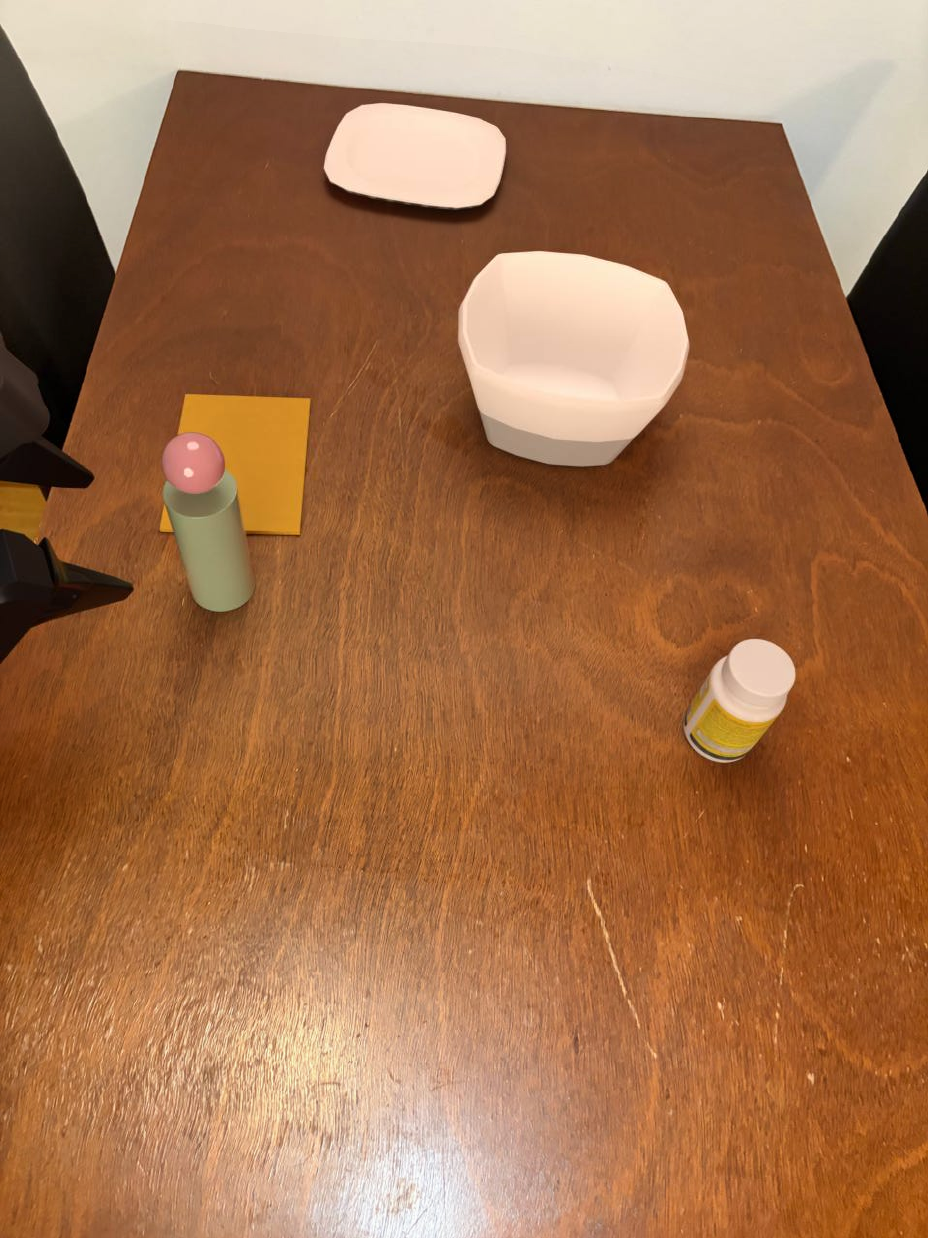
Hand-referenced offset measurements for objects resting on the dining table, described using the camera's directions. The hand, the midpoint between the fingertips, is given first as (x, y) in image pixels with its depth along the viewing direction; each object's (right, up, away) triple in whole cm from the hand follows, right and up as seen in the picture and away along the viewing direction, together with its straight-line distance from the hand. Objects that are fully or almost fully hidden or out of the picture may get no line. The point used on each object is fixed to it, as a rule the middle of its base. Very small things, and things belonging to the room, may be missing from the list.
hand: (109, 534), depth 53 cm
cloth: (+4, +7, +15) cm, 17 cm away
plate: (+16, +43, +40) cm, 61 cm away
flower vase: (+4, -3, +9) cm, 10 cm away
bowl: (+29, +12, +21) cm, 38 cm away
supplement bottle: (+38, -13, +6) cm, 41 cm away
